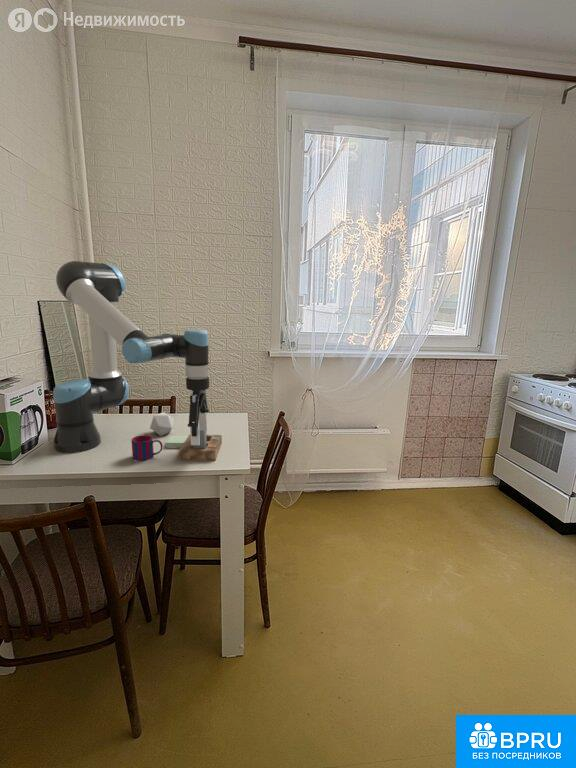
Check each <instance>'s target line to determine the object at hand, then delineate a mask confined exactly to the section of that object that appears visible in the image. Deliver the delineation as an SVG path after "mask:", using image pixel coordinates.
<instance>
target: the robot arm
mask: <svg viewBox="0 0 576 768" xmlns="http://www.w3.org/2000/svg"><path fill="white" fill-rule="evenodd" d="M55 281H56V285H57V289H58V291H59V292H60V294H61V295H62V296H63V297H64V298H65V299H66V300H67V301H68V302H70V303H71V304H73V305H77V306H78V307H79V308H81V310H83V312H84V313H86V314H87V315H88V318H89V333H90V335H89V337H90V349H91V351H90V352H91V367H92V370H91V371H90V372H89V373H88V375H87V377H88V379H86V378H85V379H84V378H76V379H69V380H66V381H63V382H60V383H58V384H57V385H55V387H54V388H53V391H52V392H53V393H52V394H53V397H52V399H53V402H54V410H55V418H56V419H55V420H56V432H55V435H54V439H53V449H54V451H56V452H58V453H59V452H60V453H77V452H78V453H79V452H83V451H89V450H90V449H93V448H94V449H95V448H96V447H98V446H99V445H100V444H101V442H102V439H101V438H102V437H101V433H100V432H99V430H98V428H97V426H96V424H95V421H94V420H95V419H94V413H97V412H101V411H104V410H108V409H111V408H117V406H120V405H122V404H124V403H125V402H126V401H127V399H128V397H129V395H130V386H129V383H128V381H127V379H126V378H125V377H124V376H123V374H122V372H121V370H119V369H118V355H117V352H118V351H117V343H118V344H120V346H121V353H122V355H123V356H124V360H126V362H128V363H130V364H144V363H148V362H153V361H157V360H158V361H159V360H164V359H169V358H180V359H181V358H182V359H184V361H185V365H184V366H185V377H186V378H185V385H186V386H185V387H186V389H187V391H192V394H191V395H190V396H189V413H188V414H189V415H188V424H187V427H189V428H190V435H191V445H200V436H199V426H201V427H206V432H207V431H208V418H207V416H208V415H207V413H209V412H210V409H209V407H208V400H207V399H208V398H207V394H206V391H207V390H208V389H209V388H210V378H209V375H210V370H212V369H211V367H210V366H209V365H210V362H209V352H210V351H209V348H210V346H209V345H210V342H209V334H208V331H206V330H204V329H186V330H185V331H183V332H184V334H183V335H182V334H173V333H159V334H158V335H153V336H148V335H147V334H146V333H144V331H142V330H141V329H140V328H139V327H138V326H137V325H136V324H135V323H134V322H133V321H131V320H130V319H129V318H128V317H127V316H126V315H124V314H123V313H122V311H120V310H119V309H118V308H117V307H116V306H117V305H118V304H119V302H120V301H119V299H120V298H119V297H121V296H123V295H124V292H125V290H126V282H125V276H124V275H123V274H122V271H120V269H119V268H118V267H117V266H114V265H113V264H108V263H102V262H101V263H100V262H89V261H81V260H72V261H68V262H66V263H64V264H63V265H61V266H60V268H59V269H58V270H57V273H56V277H55Z"/></svg>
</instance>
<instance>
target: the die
mask: <svg viewBox="0 0 576 768" xmlns="http://www.w3.org/2000/svg"><path fill="white" fill-rule="evenodd" d="M152 417H153V418H152V420H151V424H150V427H149V429H150V430H152V431H153V432H155V433H156V434H158V436H160V437H162V436H164V435H167V434H169V433H171V432H172V429H173V426H174V423H175V419H174V418H173V417H172V416H170V415H169V414H167V413H166V412H164V411H163V412H160V413H157V414H154V415H153V416H152Z"/></svg>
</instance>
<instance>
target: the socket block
mask: <svg viewBox="0 0 576 768" xmlns="http://www.w3.org/2000/svg"><path fill="white" fill-rule="evenodd" d="M187 436H188V438H187V439H186V441H185V442H184V444H183V446H182V447H181V448H179V461H216V460H217V458H218V455H219V452H220V450H221V447H222V444H223V436H222V434H206V436H207V448H206V449H193V445H191V434H189V435H187Z"/></svg>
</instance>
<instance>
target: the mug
mask: <svg viewBox="0 0 576 768" xmlns="http://www.w3.org/2000/svg"><path fill="white" fill-rule="evenodd" d="M156 442H157V443H159V445H160V449H159V451H157V452H154V443H156ZM163 446H164V445H163V443H162V441H161V440H159V439H153V436H151V435H149V434H148V435H147V434H144V435H143V434H142V435H136V436H134V437H132V438H131V453H132V459H133V461H136V462H145V461H149V460H152V459H153V458H154V456H155V455H158V454H159V453H161V452H162V451H163Z"/></svg>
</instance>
